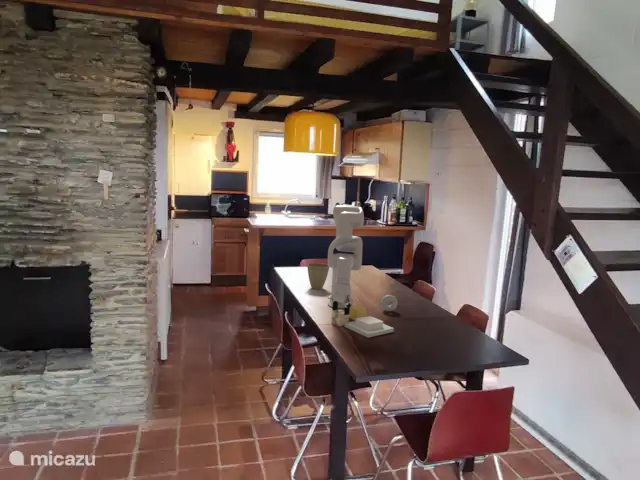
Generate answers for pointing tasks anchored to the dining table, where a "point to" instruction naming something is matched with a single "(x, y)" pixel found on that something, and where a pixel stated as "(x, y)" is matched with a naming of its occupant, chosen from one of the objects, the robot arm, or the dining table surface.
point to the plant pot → (317, 274)
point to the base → (368, 332)
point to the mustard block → (357, 312)
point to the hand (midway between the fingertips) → (340, 312)
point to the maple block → (339, 318)
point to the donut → (384, 301)
